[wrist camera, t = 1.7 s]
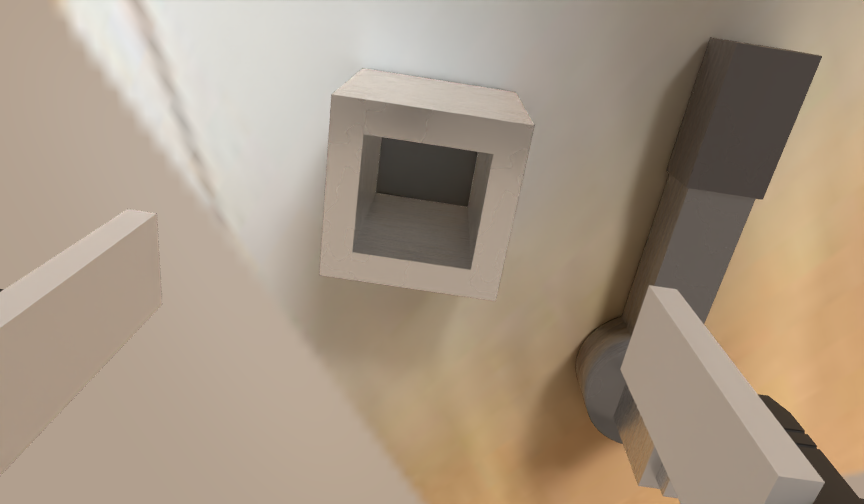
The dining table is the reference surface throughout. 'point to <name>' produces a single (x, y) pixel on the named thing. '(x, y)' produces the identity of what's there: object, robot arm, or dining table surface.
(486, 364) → the dining table surface
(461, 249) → the socket
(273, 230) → the dining table surface
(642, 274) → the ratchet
